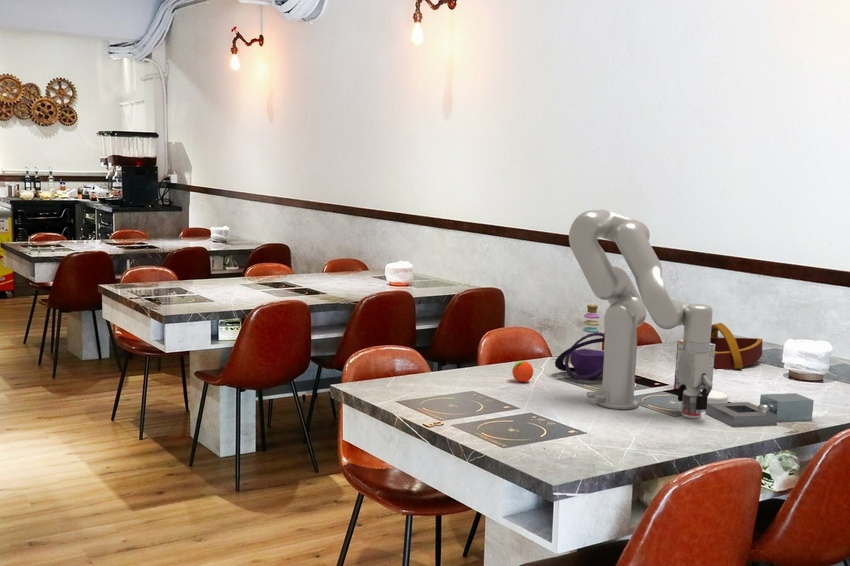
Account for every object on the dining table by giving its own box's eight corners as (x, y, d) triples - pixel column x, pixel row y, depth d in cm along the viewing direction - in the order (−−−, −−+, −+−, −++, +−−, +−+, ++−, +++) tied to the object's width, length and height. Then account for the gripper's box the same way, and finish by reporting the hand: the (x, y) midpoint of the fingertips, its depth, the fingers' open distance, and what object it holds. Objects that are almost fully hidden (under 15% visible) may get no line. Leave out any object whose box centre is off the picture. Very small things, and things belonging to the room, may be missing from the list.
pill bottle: (678, 413, 260) (680, 380, 259) (696, 413, 261) (698, 381, 260) (685, 418, 255) (688, 385, 254) (703, 418, 256) (706, 385, 254)
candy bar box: (673, 389, 290) (676, 340, 288) (680, 387, 294) (683, 338, 292) (705, 396, 283) (709, 345, 281) (712, 393, 286) (716, 343, 284)
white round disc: (686, 401, 276) (687, 390, 275) (712, 399, 280) (712, 388, 279) (708, 409, 267) (709, 398, 266) (734, 407, 271) (735, 396, 270)
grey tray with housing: (733, 426, 248) (735, 406, 247) (705, 413, 262) (707, 393, 261) (818, 423, 255) (820, 402, 255) (787, 410, 269) (789, 390, 268)
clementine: (520, 385, 288) (521, 364, 287) (505, 381, 293) (506, 360, 292) (537, 382, 293) (538, 361, 292) (521, 378, 298) (522, 357, 297)
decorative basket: (679, 356, 358) (676, 319, 356) (754, 350, 353) (751, 312, 352) (692, 376, 325) (689, 336, 323) (775, 369, 320) (772, 328, 318)
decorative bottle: (601, 369, 317) (606, 300, 314) (633, 383, 297) (638, 309, 294) (545, 371, 310) (548, 300, 307) (573, 386, 290) (578, 310, 287)
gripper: (668, 341, 263) (664, 398, 265) (701, 353, 246) (696, 413, 248) (691, 341, 265) (687, 397, 267) (725, 352, 248) (720, 412, 250)
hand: (691, 405), depth 258 cm, fingers open, 9 cm apart
